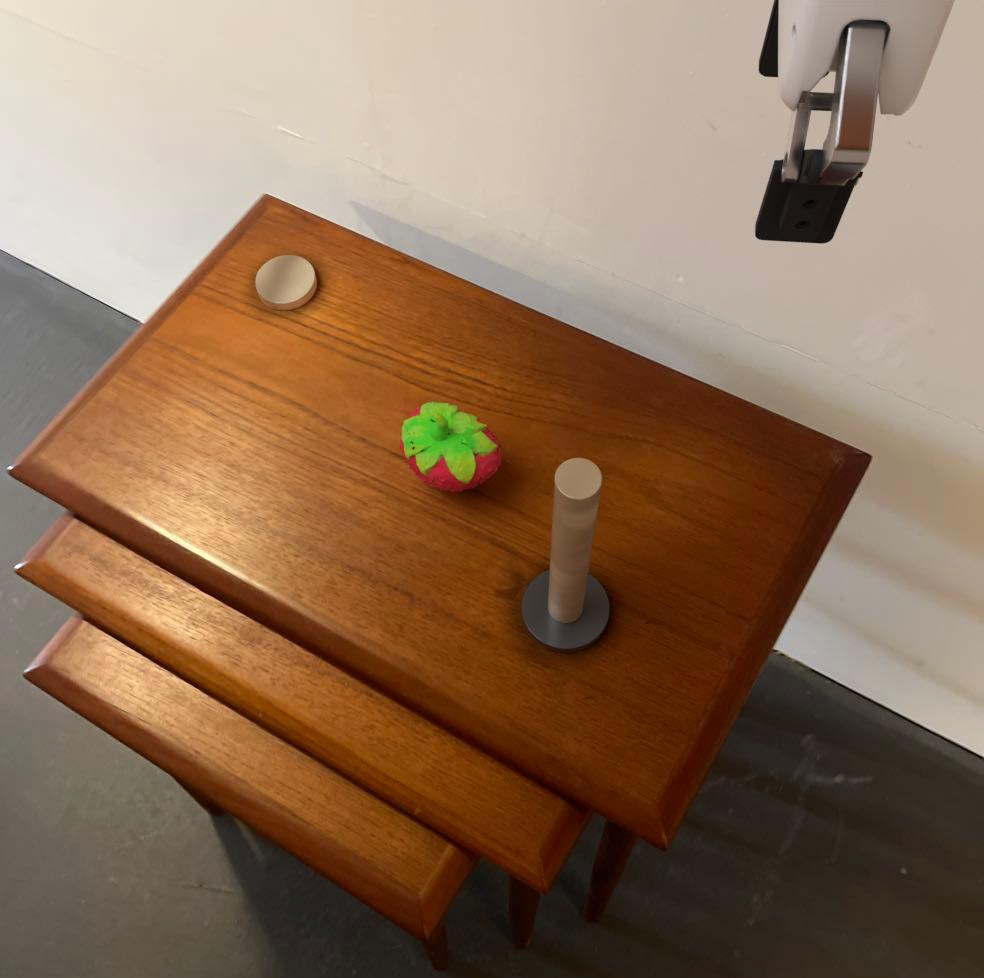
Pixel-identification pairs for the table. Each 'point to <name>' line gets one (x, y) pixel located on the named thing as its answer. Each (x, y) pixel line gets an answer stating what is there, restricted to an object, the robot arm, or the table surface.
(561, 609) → the post
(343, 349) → the table surface
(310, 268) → the puck
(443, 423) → the strawberry
